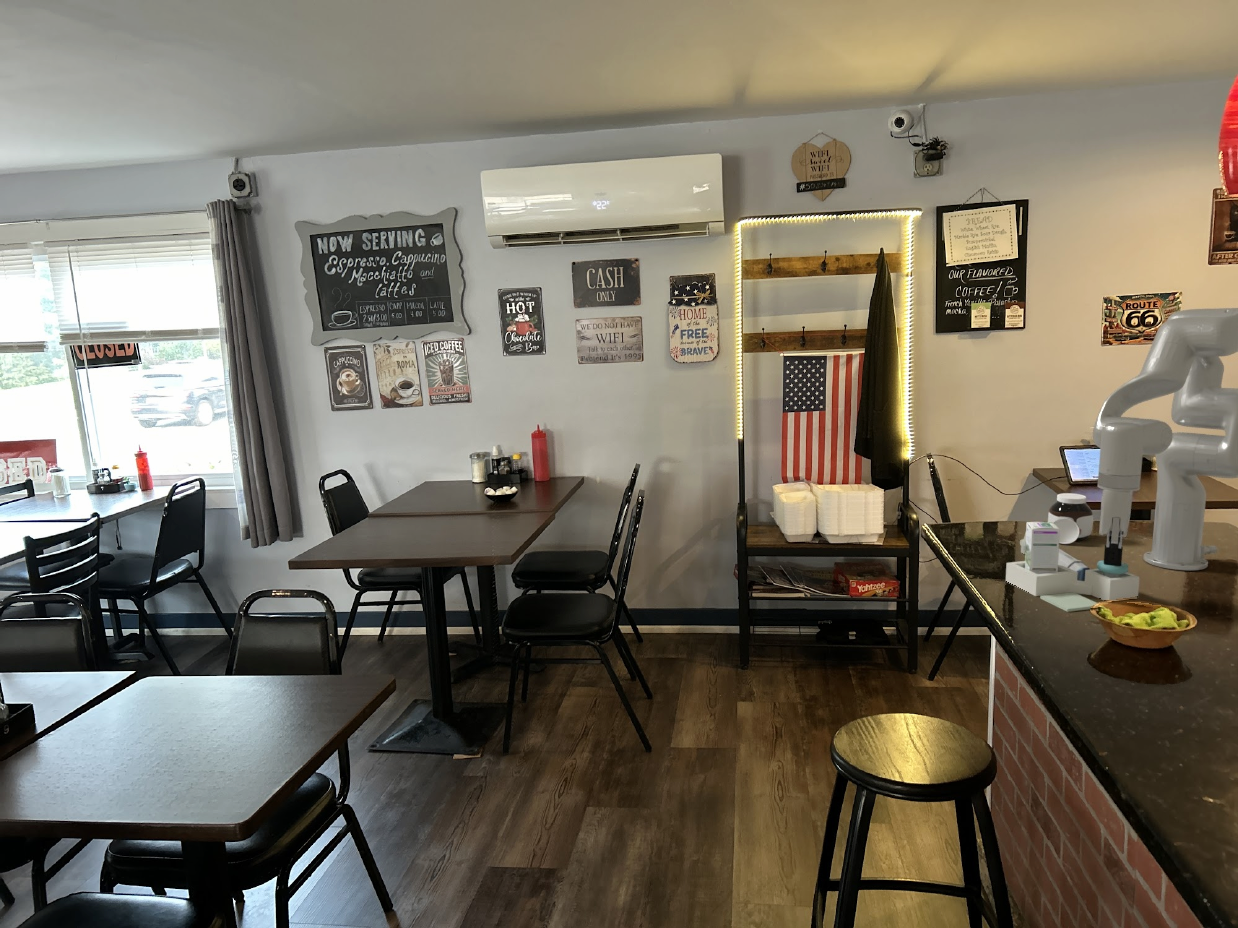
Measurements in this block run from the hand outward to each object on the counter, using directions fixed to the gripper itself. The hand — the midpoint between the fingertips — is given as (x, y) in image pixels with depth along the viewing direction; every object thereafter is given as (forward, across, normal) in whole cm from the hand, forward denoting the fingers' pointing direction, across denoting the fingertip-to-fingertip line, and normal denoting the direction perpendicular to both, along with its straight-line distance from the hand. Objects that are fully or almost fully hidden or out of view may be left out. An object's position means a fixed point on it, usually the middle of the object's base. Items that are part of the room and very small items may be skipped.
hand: (1112, 564), depth 166 cm
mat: (+7, +8, -7) cm, 13 cm away
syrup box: (+7, 0, -13) cm, 15 cm away
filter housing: (+7, 0, -8) cm, 10 cm away
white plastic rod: (+8, -18, -12) cm, 22 cm away
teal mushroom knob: (+6, 0, 0) cm, 6 cm away
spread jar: (+7, -42, -10) cm, 44 cm away
